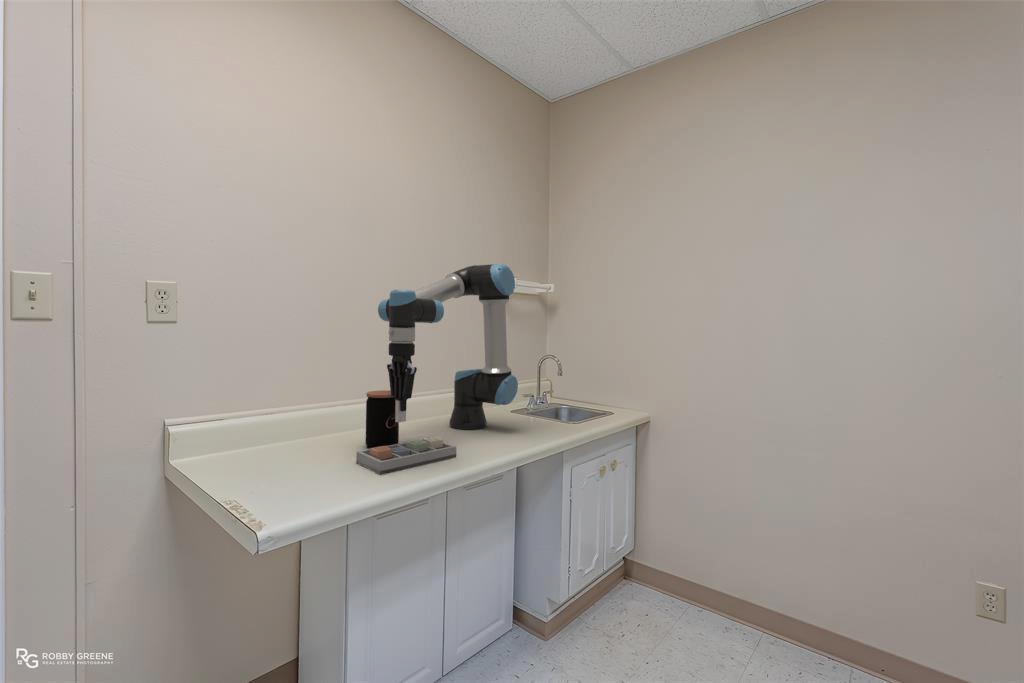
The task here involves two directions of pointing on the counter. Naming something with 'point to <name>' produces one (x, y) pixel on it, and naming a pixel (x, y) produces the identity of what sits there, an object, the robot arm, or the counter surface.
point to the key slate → (401, 451)
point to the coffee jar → (381, 419)
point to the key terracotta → (381, 452)
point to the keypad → (405, 458)
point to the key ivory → (434, 442)
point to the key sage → (417, 445)
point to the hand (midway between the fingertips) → (400, 421)
